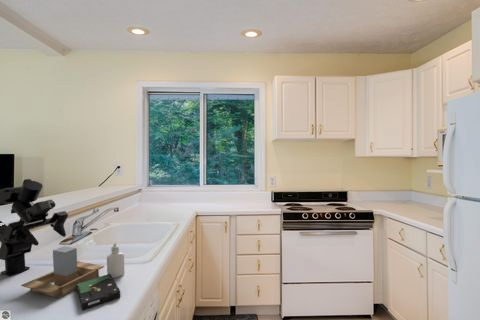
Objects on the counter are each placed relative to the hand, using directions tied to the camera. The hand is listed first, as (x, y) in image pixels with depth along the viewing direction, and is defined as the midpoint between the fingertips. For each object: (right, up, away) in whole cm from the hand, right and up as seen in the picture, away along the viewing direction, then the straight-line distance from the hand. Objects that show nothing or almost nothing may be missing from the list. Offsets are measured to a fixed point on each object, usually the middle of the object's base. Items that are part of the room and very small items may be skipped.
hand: (52, 240), depth 91 cm
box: (+6, -14, -2) cm, 16 cm away
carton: (+6, -14, -2) cm, 16 cm away
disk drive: (+21, -15, -8) cm, 27 cm away
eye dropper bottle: (+21, -14, +3) cm, 25 cm away
